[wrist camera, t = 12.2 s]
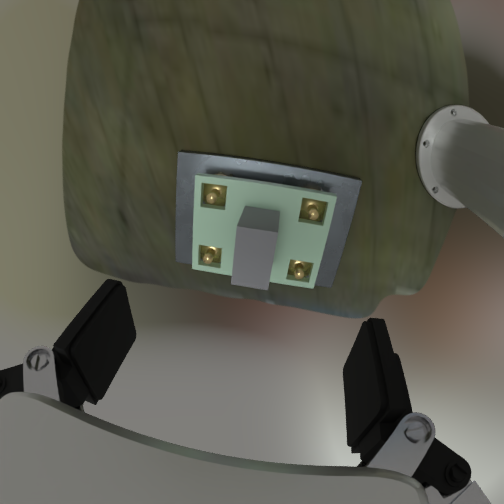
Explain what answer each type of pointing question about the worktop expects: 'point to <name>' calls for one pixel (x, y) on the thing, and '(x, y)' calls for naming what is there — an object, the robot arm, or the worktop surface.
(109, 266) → the worktop surface
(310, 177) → the plate
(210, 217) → the board
